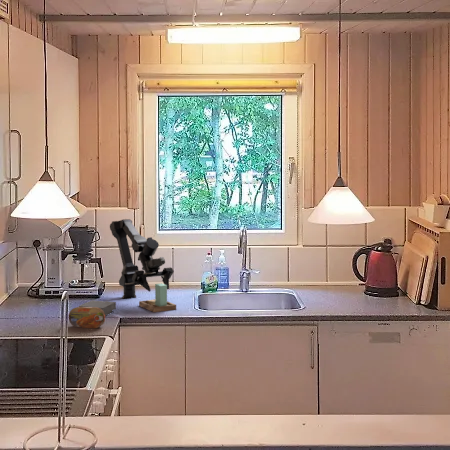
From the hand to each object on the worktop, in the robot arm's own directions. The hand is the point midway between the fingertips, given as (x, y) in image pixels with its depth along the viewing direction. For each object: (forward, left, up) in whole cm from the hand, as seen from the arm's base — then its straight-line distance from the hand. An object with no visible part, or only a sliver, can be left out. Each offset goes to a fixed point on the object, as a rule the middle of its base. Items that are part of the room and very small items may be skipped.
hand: (159, 290), depth 327 cm
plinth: (+2, -27, -9) cm, 29 cm away
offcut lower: (-5, -2, -8) cm, 10 cm away
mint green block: (+2, +1, -8) cm, 9 cm away
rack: (-2, -1, -9) cm, 9 cm away
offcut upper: (-5, -2, -7) cm, 9 cm away
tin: (+26, -30, -10) cm, 41 cm away
